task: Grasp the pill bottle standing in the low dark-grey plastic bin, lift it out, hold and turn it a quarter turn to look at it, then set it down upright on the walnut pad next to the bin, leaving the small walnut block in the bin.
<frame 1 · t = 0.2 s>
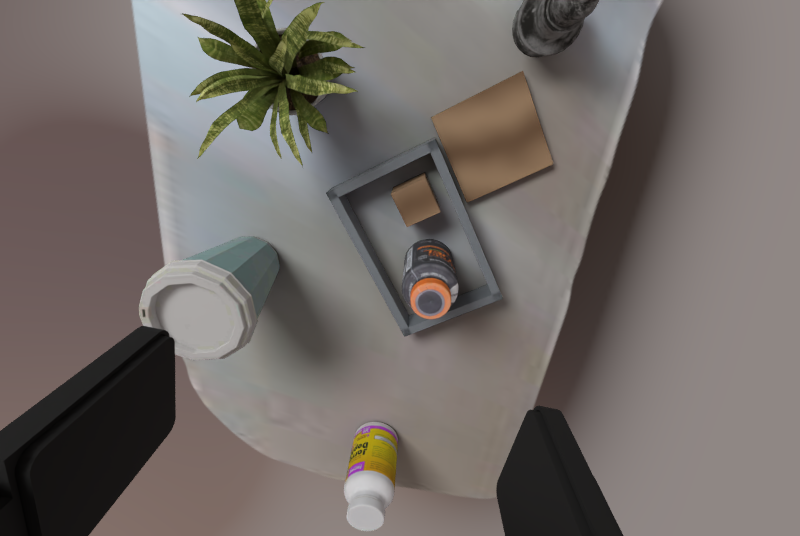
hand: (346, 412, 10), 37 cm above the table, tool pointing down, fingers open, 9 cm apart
supplement bottle: (376, 435, 59), on the table
stone chess piece: (539, 26, 38), on the table
house plant: (306, 92, 41), on the table
pill bottle: (428, 260, 48), resting in bin
pad: (491, 140, 42), on the table
bin: (418, 239, 46), on the table
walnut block: (416, 195, 45), resting in bin
disposable coffee cup: (255, 261, 49), on the table
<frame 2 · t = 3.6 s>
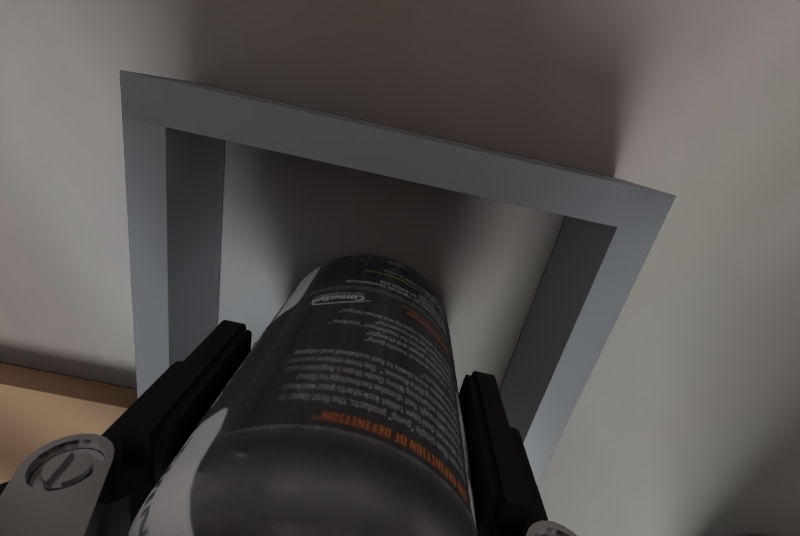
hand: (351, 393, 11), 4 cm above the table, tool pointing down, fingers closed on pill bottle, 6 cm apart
pill bottle: (368, 325, 14), resting in bin, touching gripper
pad: (68, 462, 17), on the table
bin: (354, 392, 15), on the table
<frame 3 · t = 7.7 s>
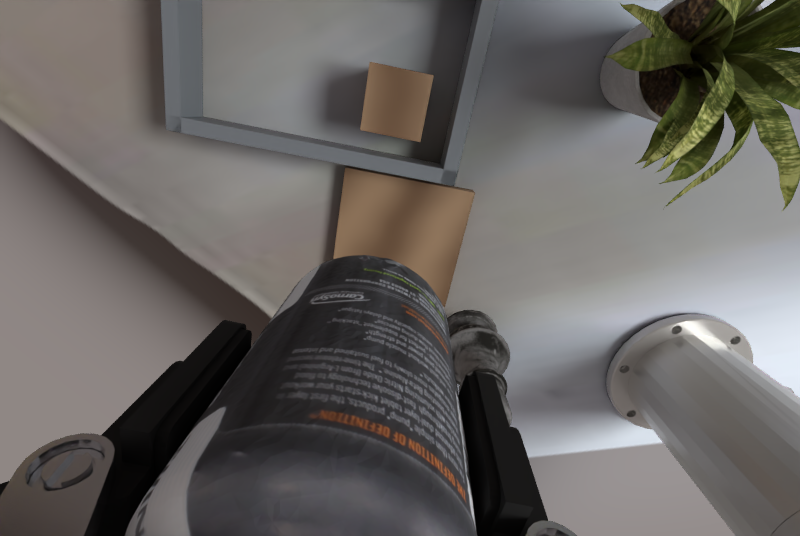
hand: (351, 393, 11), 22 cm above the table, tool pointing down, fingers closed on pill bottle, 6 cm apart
stone chess piece: (467, 334, 35), on the table
house plant: (624, 56, 27), on the table
pill bottle: (367, 324, 14), point 18 cm above the table, touching gripper
pad: (398, 238, 32), on the table
bin: (332, 59, 27), on the table
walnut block: (397, 104, 28), resting in bin
when the fingers open (6 cm above the table, at t = 12.0 s): pill bottle drops 1 cm, resting on pad.
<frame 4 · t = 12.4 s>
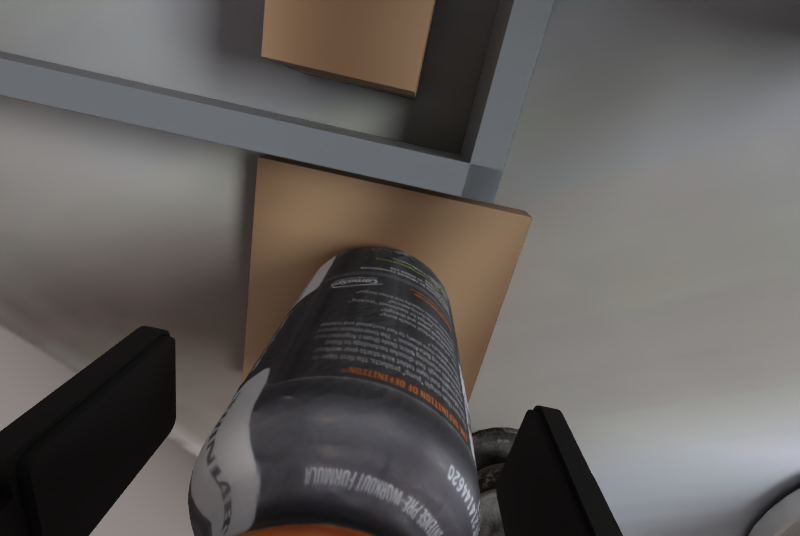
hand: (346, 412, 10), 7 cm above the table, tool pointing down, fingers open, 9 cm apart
stone chess piece: (498, 464, 20), on the table
pill bottle: (378, 310, 16), point 1 cm above the table, touching pad
pad: (374, 298, 16), on the table
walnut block: (370, 21, 13), resting in bin
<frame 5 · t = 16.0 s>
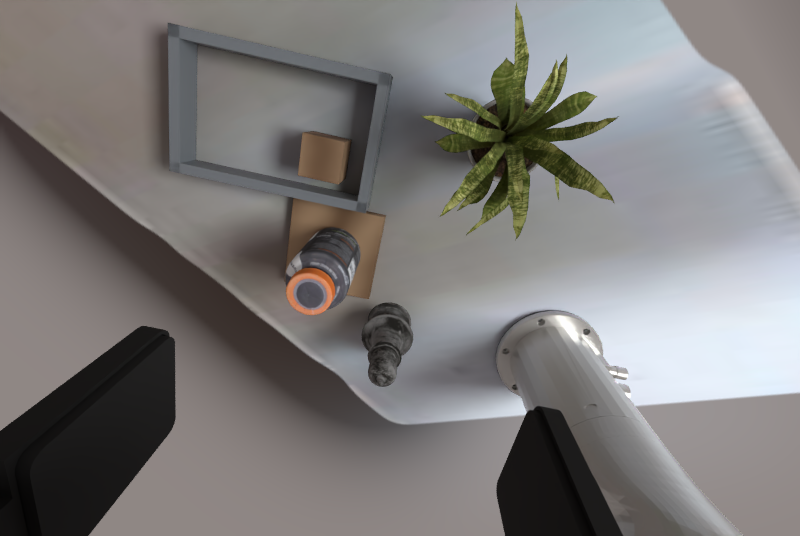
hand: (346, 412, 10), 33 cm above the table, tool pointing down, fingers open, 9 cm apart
stone chess piece: (389, 321, 47), on the table
house plant: (484, 127, 39), on the table
pill bottle: (335, 251, 43), point 1 cm above the table, touching pad
pad: (334, 248, 44), on the table
bin: (284, 124, 39), on the table
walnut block: (329, 155, 40), resting in bin
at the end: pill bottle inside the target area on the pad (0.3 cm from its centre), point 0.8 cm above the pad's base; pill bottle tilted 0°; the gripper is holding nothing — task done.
